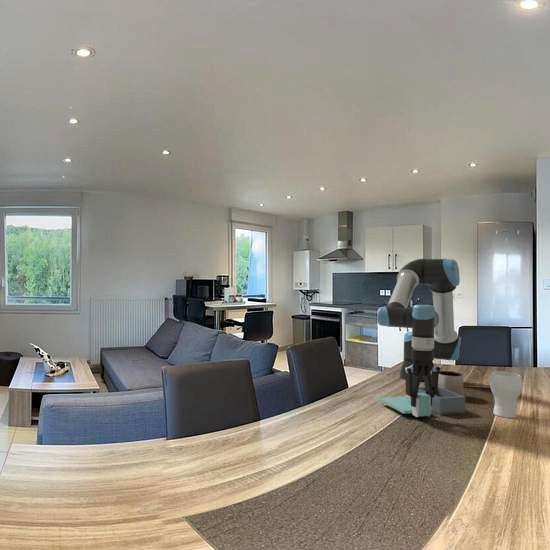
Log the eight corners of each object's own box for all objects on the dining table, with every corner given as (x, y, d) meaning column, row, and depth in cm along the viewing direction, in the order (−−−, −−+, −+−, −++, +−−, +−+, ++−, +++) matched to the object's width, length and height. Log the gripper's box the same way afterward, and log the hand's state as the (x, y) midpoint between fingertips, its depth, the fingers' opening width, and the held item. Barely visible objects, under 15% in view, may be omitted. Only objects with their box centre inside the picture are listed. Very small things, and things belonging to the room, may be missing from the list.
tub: (413, 402, 176) (414, 387, 176) (437, 401, 179) (437, 386, 179) (439, 415, 160) (440, 398, 160) (465, 413, 164) (465, 396, 164)
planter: (458, 393, 193) (458, 371, 193) (466, 400, 182) (467, 376, 182) (432, 392, 194) (433, 370, 194) (439, 398, 183) (440, 375, 183)
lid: (379, 400, 171) (379, 382, 172) (405, 399, 175) (405, 381, 175) (410, 417, 152) (410, 396, 152) (438, 414, 155) (439, 394, 155)
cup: (525, 420, 156) (526, 378, 156) (493, 417, 159) (494, 376, 159) (515, 411, 167) (516, 371, 167) (485, 409, 169) (486, 370, 169)
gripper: (407, 351, 149) (406, 420, 149) (450, 350, 154) (448, 417, 154) (395, 347, 157) (394, 413, 157) (436, 346, 162) (435, 410, 161)
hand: (421, 415), depth 155 cm, fingers closed on lid, 4 cm apart
